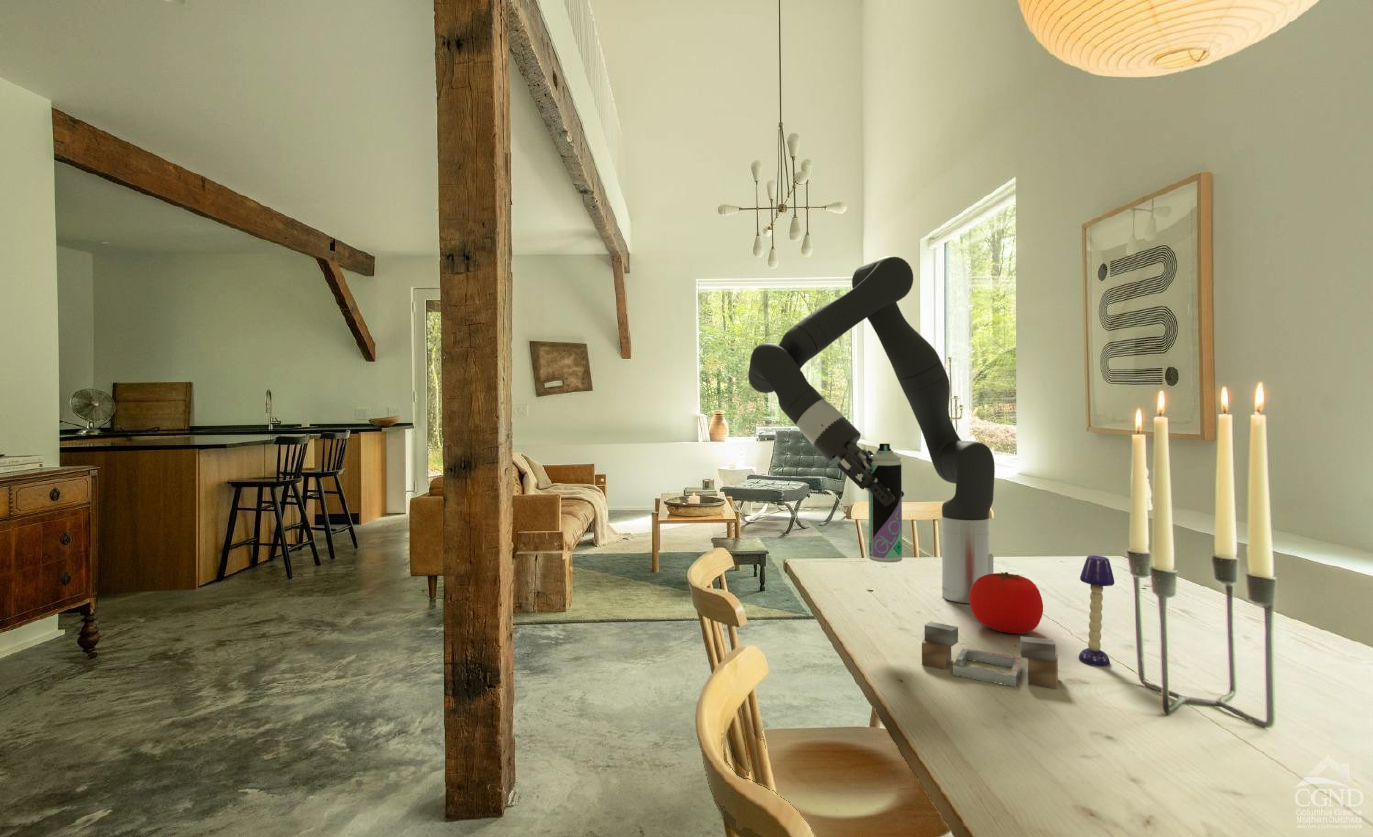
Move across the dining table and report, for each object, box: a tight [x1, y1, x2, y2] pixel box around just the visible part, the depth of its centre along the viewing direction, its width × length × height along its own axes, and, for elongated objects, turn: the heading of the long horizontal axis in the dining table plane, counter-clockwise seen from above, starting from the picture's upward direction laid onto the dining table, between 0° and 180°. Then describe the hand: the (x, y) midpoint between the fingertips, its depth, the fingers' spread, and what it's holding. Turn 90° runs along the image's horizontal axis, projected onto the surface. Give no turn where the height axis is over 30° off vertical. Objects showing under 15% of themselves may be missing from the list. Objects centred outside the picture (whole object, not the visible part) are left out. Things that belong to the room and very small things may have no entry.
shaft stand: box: [921, 620, 1059, 690], centre depth 105 cm, size 19×4×6 cm, turn 59°
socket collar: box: [952, 647, 1023, 688], centre depth 105 cm, size 9×9×2 cm
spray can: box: [868, 443, 903, 564], centre depth 118 cm, size 6×6×20 cm
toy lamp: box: [1078, 554, 1115, 667], centre depth 108 cm, size 5×5×17 cm
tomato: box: [969, 571, 1044, 634], centre depth 124 cm, size 12×12×10 cm
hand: (895, 500), depth 117 cm, fingers closed on spray can, 5 cm apart
